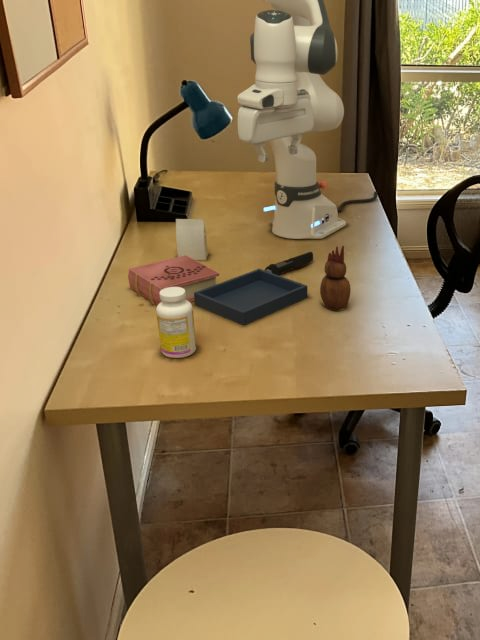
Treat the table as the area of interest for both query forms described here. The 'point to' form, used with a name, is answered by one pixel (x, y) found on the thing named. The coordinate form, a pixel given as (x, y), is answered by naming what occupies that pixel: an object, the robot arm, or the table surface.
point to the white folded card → (191, 238)
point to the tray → (250, 296)
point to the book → (171, 277)
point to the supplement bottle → (175, 323)
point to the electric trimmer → (290, 264)
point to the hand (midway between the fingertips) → (278, 157)
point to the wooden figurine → (335, 282)
